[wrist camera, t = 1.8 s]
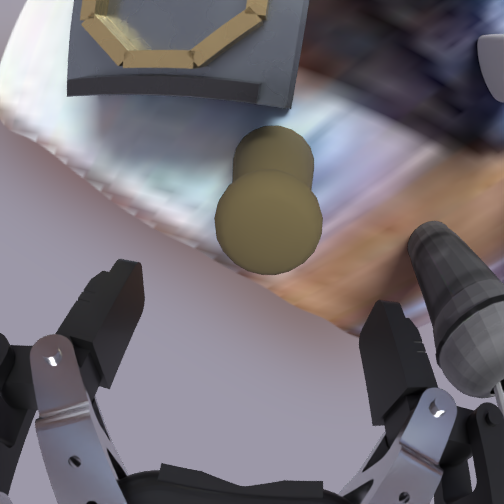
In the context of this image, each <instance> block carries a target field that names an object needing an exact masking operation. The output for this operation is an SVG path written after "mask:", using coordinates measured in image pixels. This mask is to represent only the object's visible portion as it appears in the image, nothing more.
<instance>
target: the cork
mask: <svg viewBox="0 0 504 504" xmlns="http://www.w3.org/2000/svg"><path fill="white" fill-rule="evenodd" d="M313 172H314V158H313V154H312V151H311V148H310V146H309V145H308V144H307V142H306V141H305V140H304V138H303V137H302V136H300V135H299V134H297V133H296V132H295V131H293V130H291V129H288V128H285V127H281V126H264V127H261V128H258V129H255V130H253V131H252V132H250V133H249V134H248V135H246V136H245V137H244V138H243V139H242V141H241V142H240V143H239V145H238V146H237V148H236V152H235V155H234V159H233V181H232V184H230V185H229V186H228V188H227V189H226V191H225V192H224V194H223V195H222V197H221V198H220V200H219V202H218V205H217V210H216V214H215V218H214V219H215V228H216V236H217V240H218V242H219V244H220V246H221V248H222V250H223V252H224V253H225V254H226V255H227V256H228V257H229V258H230V259H231V260H232V261H233V262H234V263H235V264H237V265H238V266H240V267H242V268H243V269H245V270H247V271H250V272H253V273H257V274H261V275H277V274H281V273H285V272H289V271H291V270H292V269H294V268H296V267H298V266H299V265H301V264H303V263H304V262H305V261H306V260H307V259H308V258H309V257H310V256H311V255H312V254H313V253H314V251H315V249H316V247H317V245H318V242H319V240H320V237H321V234H322V222H323V217H322V214H321V210H320V207H319V203H318V200H317V198H316V196H315V195H314V194H313V192H312V191H311V188H312V180H313Z"/></svg>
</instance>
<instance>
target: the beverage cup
mask: <svg viewBox="0 0 504 504" xmlns="http://www.w3.org/2000/svg"><path fill="white" fill-rule="evenodd" d="M408 252H409V256H410V257H411V262H412V265H413V268H414V271H415V274H416V277H417V280H418V282H419V285H420V288H421V291H422V294H423V297H424V300H425V303H426V306H427V310H428V313H429V316H430V319H431V323H432V326H433V333H434V341H435V347H436V360H437V364H438V365H439V367H440V368H441V369H442V371H443V373H444V375H445V376H446V378H447V379H448V380H449V382H450V383H451V384H452V385H453V386H454V387H456V388H457V389H458V390H459V391H460V392H462V393H463V394H466V395H468V396H472V397H477V398H489V397H494V396H495V397H496V400H497V405H498V408H499V409H500V410H501V412H502V414H503V416H504V394H503V393H504V283H502V282H501V281H500V280H499V279H498V278H497V277H496V275H495V274H494V273H493V272H492V271H491V270H490V269H489V268H488V267H487V266H486V264H485V263H484V262H483V261H482V260H481V259H480V258H479V257H478V256H477V255H476V254H475V253H474V252H473V251H472V250H471V249H470V247H469V246H468V245H467V244H466V243H465V242H464V241H463V240H462V239H461V238H460V237H459V236H458V235H457V234H456V233H454V232H453V231H451V230H450V229H449V228H448V227H447V226H446V225H445V224H443V223H442V222H438V221H430V222H426V223H424V224H422V225H420V226H419V227H418V228H417V229H416V230H415V231H414V232H413V234H412V235H411V236H410V239H409V242H408Z"/></svg>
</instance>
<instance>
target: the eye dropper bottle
mask: <svg viewBox="0 0 504 504" xmlns="http://www.w3.org/2000/svg"><path fill="white" fill-rule="evenodd" d="M477 49H478V59H479V64H480V68H481V72H482V75H483V78H484V80H485V83H486V85H487V87H488V89H489V91H490V93H491V94H492V96H493V97H494V98H495V99H496V100H497V101H499V102H502V103H504V34H490V35H483V36H481V37H479V39H478V43H477Z"/></svg>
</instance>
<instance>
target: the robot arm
mask: <svg viewBox="0 0 504 504" xmlns="http://www.w3.org/2000/svg"><path fill="white" fill-rule="evenodd" d="M144 301H145V296H144V286H143V274H142V266H141V263H139V262H134V261H129V260H124V259H118V260H117V261H116V263H115V264H114V266H113V267H112V269H111V270H110V272H106V271H102V272H101V273H99V274H98V275H96V276H95V277H94V278H92V279H91V280H90V282H89V283H88V285H87V286H86V287H85V289H84V292H82V294H81V295H80V296H79V298H78V301H76V303H75V304H74V306H73V307H72V308H71V310H70V312H69V313H68V315H67V316H66V318H65V319H64V321H63V323H62V324H61V326H60V327H59V329H58V331H57V332H56V334H52V335H47V336H44V337H43V338H40V339H39V340H38V341H37V342H36V343H35V344H34V345H33V346H17V345H10V344H9V342H8V340H7V339H6V337H5V336H4V335H3V334H1V333H0V504H12V502H11V500H10V498H9V497H8V494H9V490H10V486H11V483H12V479H13V476H14V472H15V469H16V466H17V463H18V460H19V457H20V454H21V451H22V448H23V445H24V442H25V439H26V436H27V434H28V431H29V428H30V426H31V423H32V420H33V418H34V415H35V413H36V410H39V418H38V419H36V421H35V428H36V433H37V437H38V441H39V445H40V449H41V453H42V456H43V460H44V463H45V466H46V470H47V473H48V476H49V479H50V483H51V486H52V488H53V491H54V494H55V497H56V499H57V502H58V504H430V502H431V499H432V498H433V495H434V504H504V416H503V414H502V412H501V410H500V409H499V408H498V407H497V406H496V405H494V404H492V403H483V404H481V405H480V406H479V407H478V408H477V409H476V410H474V411H473V410H470V409H466V408H462V407H458V406H456V403H455V401H454V399H453V397H452V396H451V395H450V394H449V393H448V392H446V391H445V390H443V389H440V388H438V386H437V382H436V379H435V377H434V373H433V370H432V367H431V364H430V361H429V359H428V355H427V353H425V351H426V350H425V347H424V344H423V343H422V339H421V336H420V334H419V331H418V329H417V327H416V326H415V325H414V324H413V322H412V321H411V320H410V319H409V318H405V316H404V313H403V310H402V308H401V305H400V304H399V303H398V302H390V301H382V300H378V301H377V302H376V303H375V305H374V307H373V309H372V311H371V313H370V315H369V317H368V319H367V321H366V323H365V325H364V327H363V328H362V331H361V333H360V338H359V348H360V354H361V358H362V364H363V369H364V375H365V380H366V386H367V392H368V397H369V404H370V411H371V417H372V424H373V426H377V425H379V426H380V425H385V432H384V433H383V434H382V436H381V437H380V439H379V441H378V442H377V444H376V446H375V447H374V449H373V450H372V452H371V453H370V455H369V456H368V458H367V459H366V461H365V462H364V464H363V465H362V467H361V468H360V470H359V471H358V473H357V474H356V475H355V476H354V477H353V479H352V480H351V481H350V482H349V483H348V484H347V485H346V486H345V487H344V488H343V489H342V490H341V491H340V493H339V494H336V493H333V492H330V491H327V490H324V489H323V481H285V480H284V481H279V482H273V483H267V484H260V485H254V486H239V485H236V484H233V483H230V482H227V481H225V480H222V479H220V478H217V477H214V476H212V475H209V474H207V473H204V472H202V471H197V470H192V469H187V468H181V467H177V466H172V465H167V464H163V463H162V464H161V468H160V470H154V471H144V472H140V473H135V474H132V475H128V473H127V471H126V469H125V467H124V464H123V462H122V461H121V459H120V456H119V454H118V452H117V451H116V449H115V447H114V444H113V442H112V440H111V437H110V435H109V433H108V430H107V427H106V425H105V422H104V419H103V417H102V414H101V411H100V408H99V405H98V403H97V400H96V397H95V394H96V392H97V389H98V387H99V386H101V387H104V388H108V389H110V387H111V385H112V382H113V380H114V377H115V374H116V372H117V370H118V367H119V365H120V363H121V360H122V358H123V355H124V353H125V350H126V348H127V346H128V344H129V341H130V339H131V337H132V335H133V332H134V330H135V328H136V326H137V323H138V321H139V319H140V317H141V314H142V312H143V307H144ZM472 456H473V460H474V466H475V472H476V478H477V484H476V488H475V490H474V491H473V492H472V487H471V480H470V473H469V467H468V462H467V460H468V459H469V458H471V457H472Z"/></svg>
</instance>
